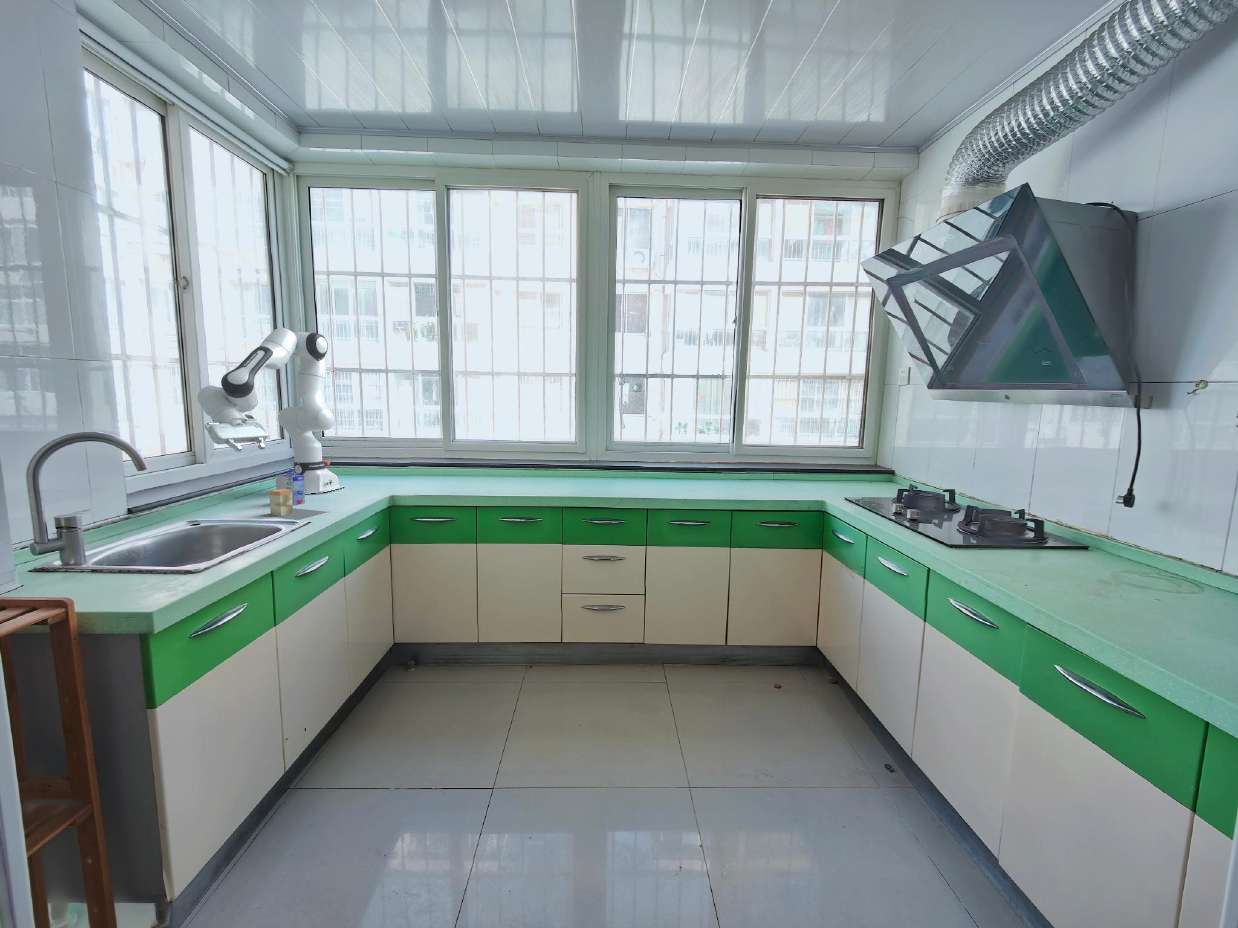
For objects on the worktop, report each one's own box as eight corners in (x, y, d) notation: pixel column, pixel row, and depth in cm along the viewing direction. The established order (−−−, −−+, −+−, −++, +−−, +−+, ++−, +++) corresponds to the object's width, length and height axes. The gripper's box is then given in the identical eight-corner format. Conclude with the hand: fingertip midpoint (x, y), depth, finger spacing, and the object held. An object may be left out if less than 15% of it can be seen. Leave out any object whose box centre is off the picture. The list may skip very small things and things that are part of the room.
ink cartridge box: (306, 504, 220) (304, 469, 218) (293, 506, 215) (291, 471, 213) (288, 502, 223) (286, 467, 221) (276, 504, 218) (274, 469, 216)
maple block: (282, 511, 203) (281, 488, 202) (292, 513, 202) (291, 489, 201) (270, 514, 198) (269, 490, 197) (281, 515, 197) (279, 491, 196)
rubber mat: (292, 509, 210) (291, 508, 210) (329, 513, 205) (329, 511, 205) (259, 516, 197) (259, 515, 197) (298, 521, 192) (298, 519, 192)
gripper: (206, 417, 191) (228, 445, 190) (258, 416, 211) (279, 441, 209) (197, 429, 193) (220, 457, 191) (250, 426, 212) (271, 452, 211)
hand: (251, 449), depth 200 cm, fingers open, 8 cm apart
